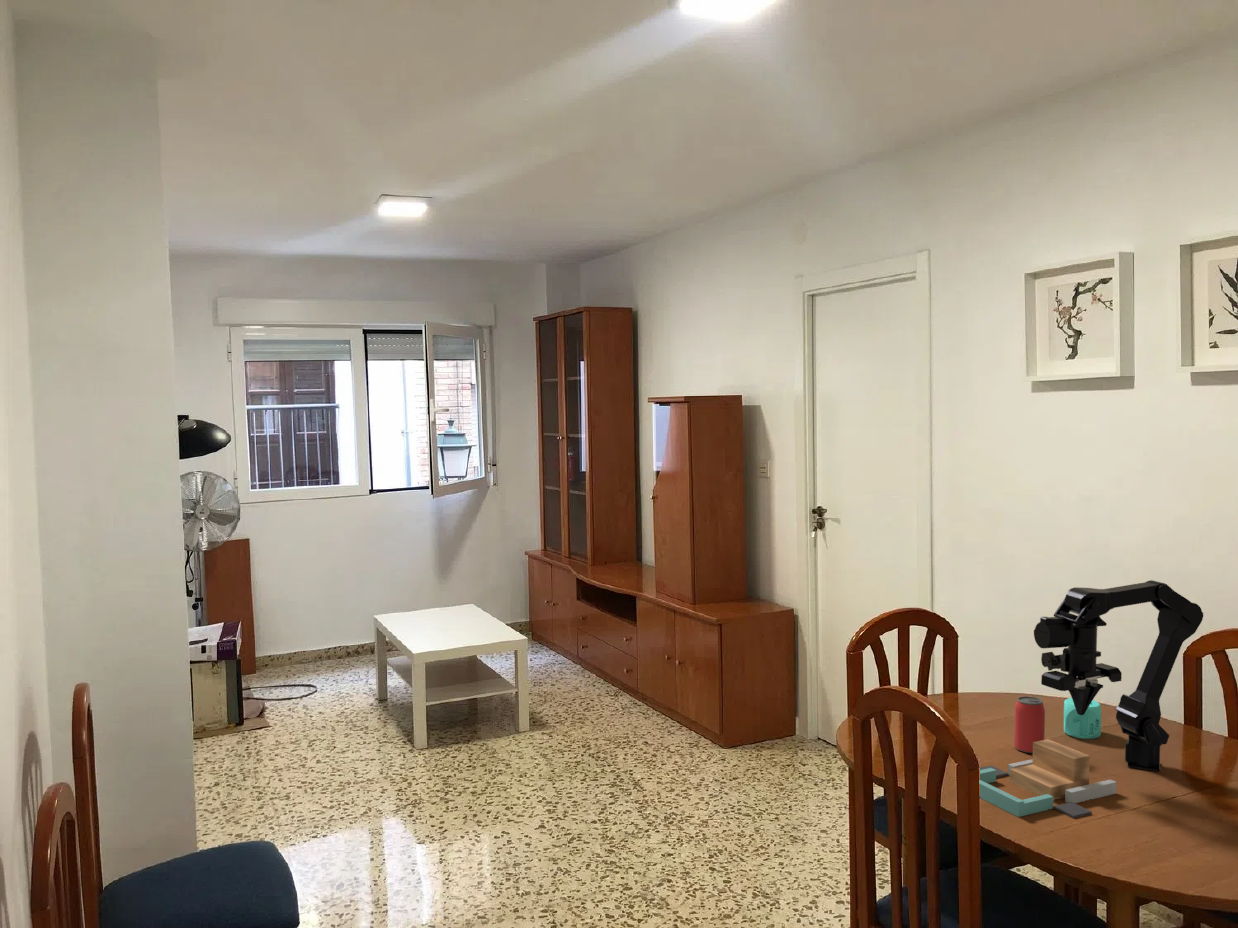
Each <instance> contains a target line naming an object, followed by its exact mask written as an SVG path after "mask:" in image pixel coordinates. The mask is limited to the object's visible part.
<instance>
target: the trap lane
mask: <svg viewBox="0 0 1238 928" xmlns="http://www.w3.org/2000/svg"><path fill="white" fill-rule="evenodd" d="M1032 761H1033V758H1031V759H1027V760H1022V761H1018V762H1013V763H1009V764H1008V765H1007V768H1008V769H1007V771H1005V770H1002V769H1000V768H998V767H996V766H994V765H991V764H990V765H986V766H980V767H979V768H980V780H979V784H980V799H982V800H984V801H986V802H988V803H990V804H991V805H993V806H994V807H997V808H999V809H1002V810H1003V811H1005V812H1008V814H1012V815H1014V816H1015V817H1017V818H1020V817H1024V816H1029V815H1032V814H1037V813H1042V812H1044V811H1049V810H1048V809H1050V810H1052V809H1053V810H1054V811H1057V812H1060V813H1062V814H1063V813H1064V815H1065V814H1066V816H1068V817H1070V818H1072V819H1076V818H1080V817H1084V816H1088V815H1092V813H1093V812H1092V810H1090V809H1087V808H1085V807H1083V806H1082V805H1080V804H1078V803H1082V802H1086V800H1087V801H1091V800H1096V799H1100V798H1103V797H1107V796H1112V795H1115V794H1117V781H1115V780H1112V779H1107V780H1102V781H1098V782H1094V783H1089V785H1084V786H1080V787H1076V788H1071V789H1067V790H1065V798H1064V799H1065V801H1064V802H1065V803H1061V804H1058V805H1054V800H1053V796H1051V795H1049V794H1045V795H1041V796H1038V795H1036V796H1033V797H1029V798H1025V799H1024V798H1023V799H1020V798H1018V797H1017V796H1015V795H1012V794H1010V793H1008V792H1007V791H1004V790H1001V789H999V788H998V787H996V786H994V785H992V784H990V783H994V782H997V778H1001V777H1007V776H1008V777H1010V769H1013V768H1018V767H1022V766H1027V765H1032ZM1090 799H1091V800H1090Z"/></svg>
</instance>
